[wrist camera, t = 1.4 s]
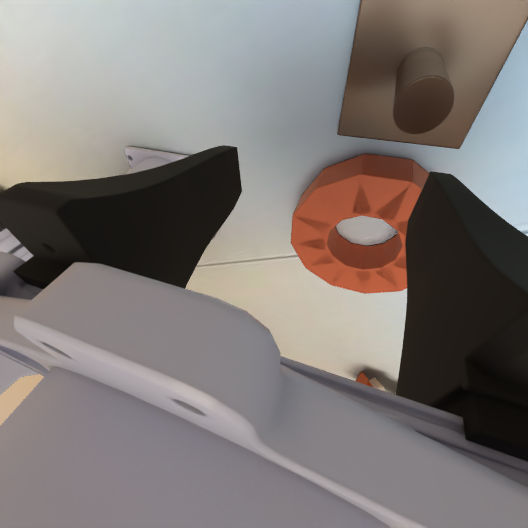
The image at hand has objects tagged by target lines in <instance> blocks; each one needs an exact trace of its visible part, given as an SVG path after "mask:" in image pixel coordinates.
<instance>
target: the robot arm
mask: <svg viewBox="0 0 528 528" xmlns="http://www.w3.org/2000/svg"><path fill="white" fill-rule="evenodd" d="M124 153H125V155H126V158H127V160H128V162H129V165H130V167H131V169H130V170H129V171H128V172H126V173H125V174H123V175H119V176H113V177H107V178H100V179H91V180H79V181H64V182H25V183H20V184H16V185H14V186H12V187H11V188H9V189H7V190H5V191H4V192H2V193H0V222H1V223H2V224H3V225H4V226H5V227H6V229H4V230H3V231H1V232H0V395H1V394H2V393H3V392H4V391H5V390H7V389H8V388H9V387H10V386H11V385H12V384H13V383H14V382H16V381H17V380H18V379H19V378H21V377H24V376H30V375H36V374H41V375H43V376H45V377H44V378H43V379H42V380H41V381H40V383H39V384H38V385H37V386H36V387H35V388H34V389H33V390H32V391H31V392H30V394H29V395H28V396H27V397H26V398H25V399H24V400H23V401H22V403H21V404H20V405H19V406H18V407H17V408H16V409H15V410H14V412H13V413H12V414H11V415H10V416H9V417H8V418H7V419H6V421H4V423H3V424H2V425H1V426H0V528H528V236H526V235H525V234H523V233H522V232H520V231H519V230H517V229H516V228H514V227H513V226H512V225H510V224H509V223H508V222H506V221H505V220H504V219H503V218H501V217H500V216H499V215H497V214H496V213H495V212H494V211H493V210H491V209H490V208H489V207H488V206H487V205H486V204H484V203H483V202H482V201H481V200H480V199H479V198H478V197H477V196H475V195H474V194H473V193H472V192H471V191H470V190H469V189H468V188H467V187H466V186H465V185H464V184H462V183H461V182H460V181H459V180H458V179H457V178H455V177H454V176H453V175H451V174H445V173H437V172H430V173H429V176H428V178H427V180H426V182H425V184H424V187H423V189H422V191H421V193H420V195H419V197H418V200H417V202H416V204H415V206H414V208H413V210H412V213H411V215H410V217H409V219H408V224H407V232H406V241H405V248H406V272H407V310H406V321H405V330H404V339H403V348H402V356H401V363H400V370H399V378H398V384H397V390H396V395H395V394H392V393H389V392H386V391H383V390H380V389H377V388H374V387H371V386H368V385H365V384H362V383H359V382H356V381H353V380H350V379H347V378H344V377H341V376H338V375H335V374H332V373H329V372H326V371H323V370H320V369H317V368H314V367H311V366H308V365H306V364H303V363H300V362H297V361H294V360H291V359H288V358H285V357H282V356H280V351H279V349H278V347H277V345H276V343H275V341H274V339H273V336H272V335H271V333H270V331H269V329H268V328H266V327H265V326H264V325H263V324H261V323H260V322H259V321H258V320H256V319H255V318H254V317H253V316H252V315H250V314H249V313H248V312H247V311H244V310H242V309H240V308H238V307H235V306H233V305H231V304H229V303H227V302H224V301H222V300H220V299H218V298H214V297H211V296H208V295H204V294H201V293H197V292H194V291H191V290H187V289H185V287H186V285H187V283H188V281H189V279H190V277H191V275H192V273H193V271H194V269H195V267H196V265H197V263H198V261H199V260H200V258H201V256H202V254H203V252H204V250H205V249H206V247H207V246H208V244H209V243H210V241H211V240H212V239H213V238H214V237H215V234H216V233H217V231H218V230H219V229H220V227H221V226H222V225H223V223H224V222H225V220H226V219H227V217H228V216H229V215H230V213H231V212H232V210H233V209H234V207H235V205H236V203H237V201H238V199H239V196H240V194H241V192H242V188H241V179H240V170H239V161H238V152H237V147H232V146H218V147H214V148H211V149H208V150H205V151H202V152H199V153H197V154H194V155H191V156H188V155H181V154H175V153H168V152H162V151H156V150H149V149H143V148H137V147H130V146H127V147H125V148H124Z"/></svg>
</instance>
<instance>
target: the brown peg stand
mask: <svg viewBox="0 0 528 528" xmlns="http://www.w3.org/2000/svg"><path fill="white" fill-rule="evenodd" d="M527 20H528V0H361V1H360V7H359V13H358V18H357V24H356V30H355V35H354V41H353V47H352V52H351V58H350V64H349V70H348V75H347V81H346V87H345V92H344V98H343V104H342V109H341V115H340V121H339V127H338V132H337V134H338V135H343V136H352V137H360V138H369V139H378V140H386V141H395V142H403V143H412V144H421V145H429V146H438V147H447V148H455V149H459V148H460V147H461V145H462V143H463V141H464V139H465V137H466V135H467V134H468V132H469V130H470V128H471V126H472V124H473V122H474V120H475V118H476V117H477V115H478V113H479V111H480V109H481V107H482V105H483V103H484V101H485V100H486V98H487V96H488V94H489V92H490V90H491V88H492V86H493V84H494V83H495V81H496V79H497V77H498V75H499V73H500V71H501V69H502V67H503V65H504V64H505V62H506V60H507V58H508V56H509V54H510V52H511V50H512V48H513V47H514V45H515V43H516V41H517V39H518V37H519V35H520V33H521V31H522V30H523V28H524V26H525V24H526V22H527Z"/></svg>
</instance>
